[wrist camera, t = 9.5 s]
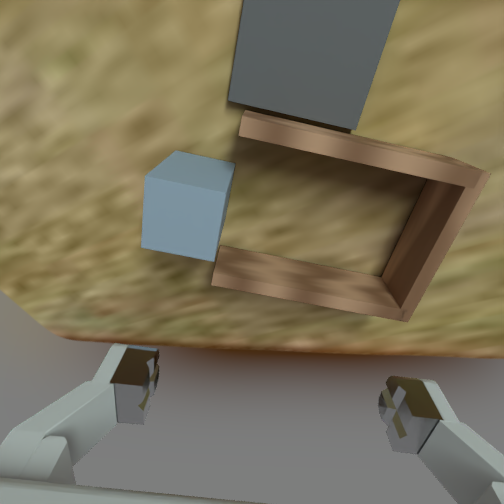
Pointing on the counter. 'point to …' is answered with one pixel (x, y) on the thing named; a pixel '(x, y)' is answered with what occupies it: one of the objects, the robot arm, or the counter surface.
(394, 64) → the counter surface
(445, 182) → the frame
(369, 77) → the pad
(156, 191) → the block
